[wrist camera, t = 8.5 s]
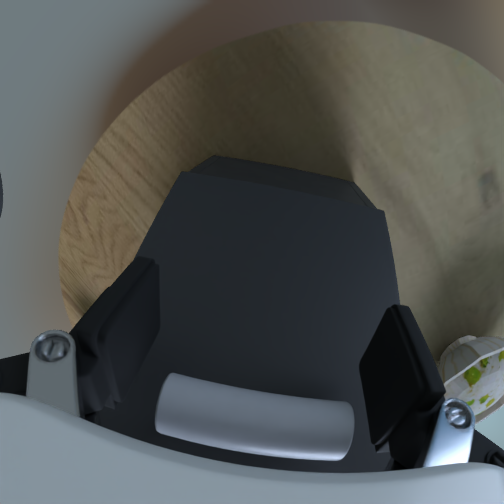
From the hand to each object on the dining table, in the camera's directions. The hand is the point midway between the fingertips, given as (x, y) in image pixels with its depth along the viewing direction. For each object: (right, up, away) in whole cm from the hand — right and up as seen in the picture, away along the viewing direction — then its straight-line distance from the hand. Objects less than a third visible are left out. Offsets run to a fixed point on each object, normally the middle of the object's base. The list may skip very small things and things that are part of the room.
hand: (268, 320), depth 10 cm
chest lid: (0, 0, +4) cm, 4 cm away
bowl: (+30, -13, +25) cm, 42 cm away
